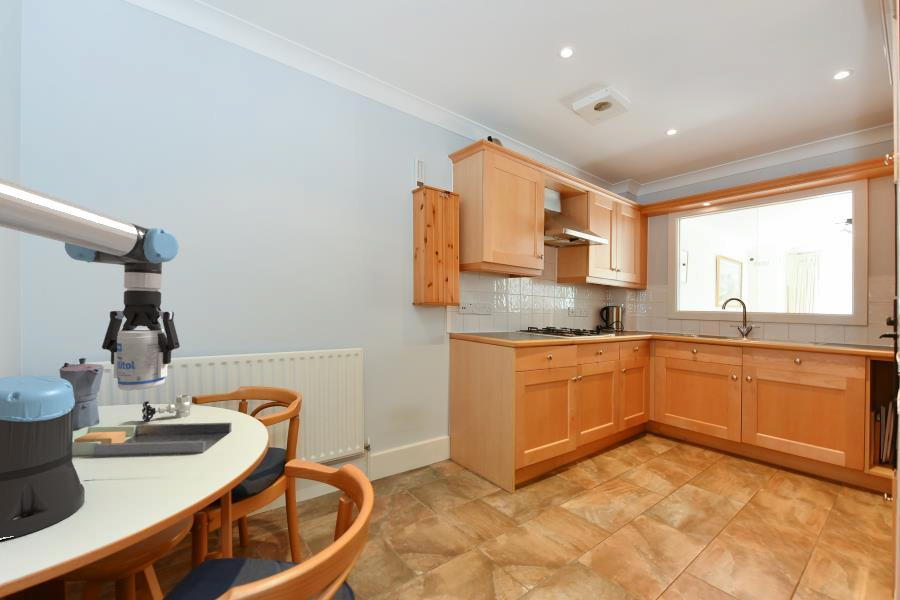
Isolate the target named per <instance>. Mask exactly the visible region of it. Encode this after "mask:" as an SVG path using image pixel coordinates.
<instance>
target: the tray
mask: <svg viewBox="0 0 900 600" xmlns="http://www.w3.org/2000/svg"><path fill="white" fill-rule="evenodd" d="M136 426H137V425H136V424H133V425H132V424H130V425H129V424H128V425H126V424H125V425H94V426H87V427H85V428H82V429H80V430H74V431H73V445H72V456H91V455H92V456H94V445H96V444H101V442H74V439H77V438H79V437H81V436H83V435H86V434H88V433H92V432H124V431H126V438H125V440H127V439H129V438H131V437H133V436H135V435H136Z"/></svg>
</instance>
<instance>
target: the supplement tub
mask: <svg viewBox="0 0 900 600" xmlns="http://www.w3.org/2000/svg"><path fill="white" fill-rule="evenodd" d="M161 329H162V330H157V331H150V329H148V328H147V327H146V328H135V329H134V330H128V331H121V330H119V331H118V336H117V377H118V378H117V387H118V389H119V390H122V391H142V390H148V389H153V388H157V387H160V386H162V385H164V383H165V382H166V376H165V377H162V378H158V352H160V351H161V348H160V346H159V345H158V333H159V334H161V333H163V332H164V333H165V329H164V328H161Z"/></svg>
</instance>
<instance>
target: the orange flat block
mask: <svg viewBox="0 0 900 600" xmlns="http://www.w3.org/2000/svg"><path fill="white" fill-rule="evenodd" d="M125 438H126V431H124V432H107V433H105V434H103V435H101V436H99V437H96V438H94V439H93V442H101V444H107V443H123V442H125Z"/></svg>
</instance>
